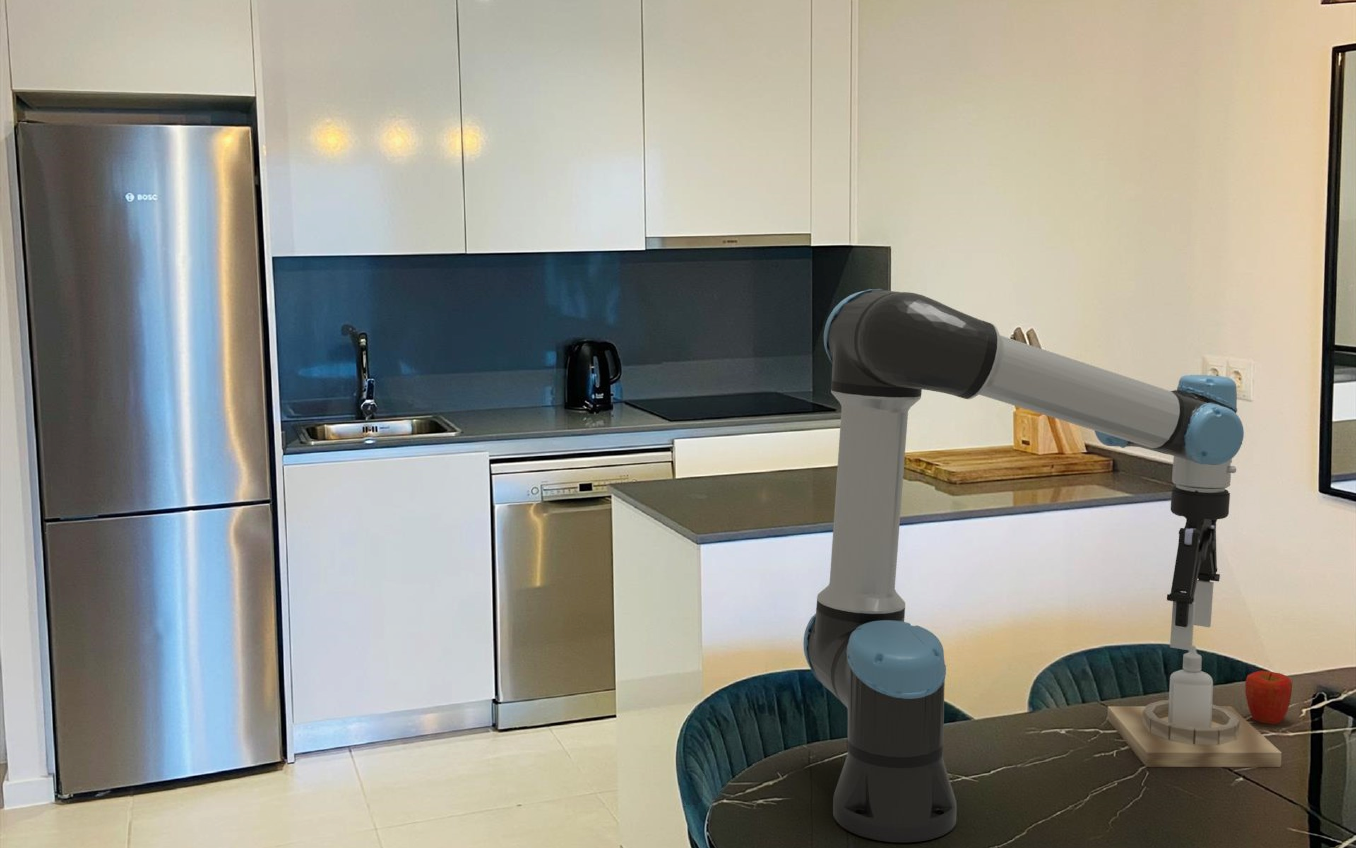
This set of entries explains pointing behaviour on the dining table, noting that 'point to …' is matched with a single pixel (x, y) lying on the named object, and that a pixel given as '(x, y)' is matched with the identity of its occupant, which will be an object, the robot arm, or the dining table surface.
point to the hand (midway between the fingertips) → (1190, 636)
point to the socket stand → (1192, 738)
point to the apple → (1268, 696)
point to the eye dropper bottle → (1191, 694)
